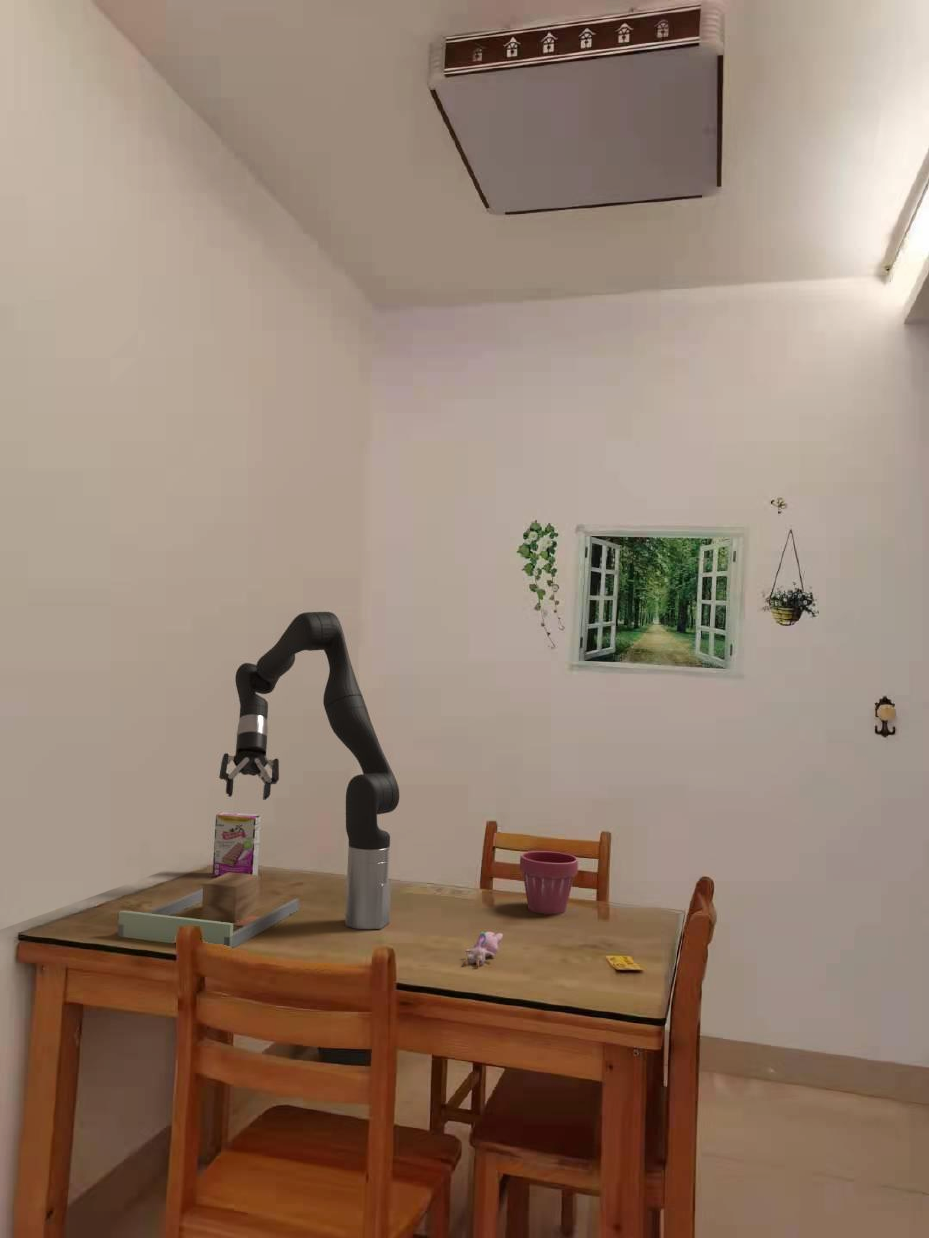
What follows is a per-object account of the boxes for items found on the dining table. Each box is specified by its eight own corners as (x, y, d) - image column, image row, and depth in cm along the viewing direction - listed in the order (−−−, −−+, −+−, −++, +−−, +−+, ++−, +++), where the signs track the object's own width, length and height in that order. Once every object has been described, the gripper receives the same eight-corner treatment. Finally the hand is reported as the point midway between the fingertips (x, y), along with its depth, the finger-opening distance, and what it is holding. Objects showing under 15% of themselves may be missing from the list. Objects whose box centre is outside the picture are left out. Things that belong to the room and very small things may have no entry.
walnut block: (258, 910, 218) (260, 875, 218) (234, 923, 206) (236, 886, 206) (227, 906, 219) (228, 872, 220) (201, 919, 208) (203, 883, 208)
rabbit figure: (486, 976, 181) (511, 944, 195) (486, 947, 180) (511, 916, 194) (456, 971, 183) (483, 939, 197) (456, 942, 182) (482, 912, 196)
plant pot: (586, 915, 223) (588, 861, 224) (532, 918, 219) (534, 863, 219) (560, 900, 237) (562, 849, 238) (509, 903, 232) (511, 851, 233)
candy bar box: (211, 877, 248) (214, 814, 249) (218, 872, 253) (221, 811, 254) (252, 879, 247) (255, 816, 248) (258, 875, 252) (261, 813, 252)
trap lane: (298, 910, 218) (299, 888, 218) (229, 950, 186) (230, 924, 187) (201, 899, 224) (202, 878, 225) (117, 936, 193) (119, 911, 193)
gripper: (226, 727, 233) (221, 789, 225) (283, 733, 238) (280, 794, 230) (221, 739, 239) (215, 799, 231) (276, 744, 244) (273, 804, 235)
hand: (247, 797), depth 230 cm, fingers open, 8 cm apart
